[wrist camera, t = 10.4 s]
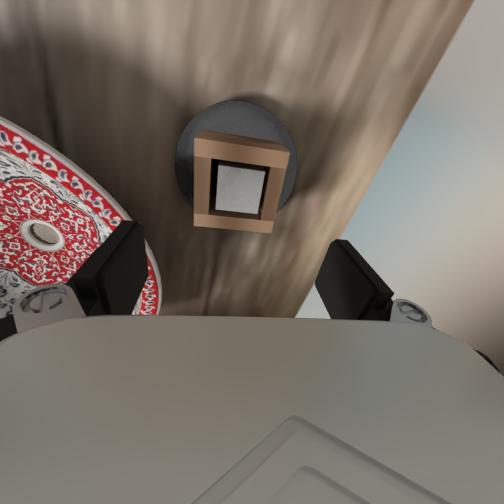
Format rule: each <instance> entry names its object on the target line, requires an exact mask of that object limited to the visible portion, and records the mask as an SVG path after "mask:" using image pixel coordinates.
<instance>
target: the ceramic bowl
mask: <svg viewBox="0 0 504 504" xmlns="http://www.w3.org/2000/svg"><path fill="white" fill-rule="evenodd" d="M122 220H130V221H133V220H132V219H131V218H130V217H129V215H128V214H127V213H126V212H125V210H124V209H123V208H122V207H121V206H120V205H119V204H118V203H117V202H116V200H115V199H114V198H113V197H112V196H111V195H110V194H109V193H108V192H107V191H106V190H105V189H104V188H103V187H102V186H100V185H99V184H98V183H97V182H96V181H95V180H94V179H93V178H92V177H91V176H89V175H88V174H87V173H86V172H85V171H83V170H82V169H81V168H80V167H78V166H77V165H76V164H75V163H74V162H72V161H71V160H70V159H68V158H67V157H65V156H64V155H63V154H61V153H60V152H58V151H57V150H56V149H54V148H53V147H51V146H50V145H49V144H47V143H46V142H44V141H42V140H41V139H39V138H37V137H36V136H34V135H33V134H31V133H29V132H28V131H26V130H25V129H23V128H21V127H20V126H18V125H16V124H14V123H12V122H10V121H9V120H7V119H5V118H3V117H1V116H0V319H1V318H3V317H6V316H8V315H11V314H13V311H12V309H13V304H14V303H15V301H16V300H17V299H18V298H19V297H20V296H22V295H23V294H25V293H26V292H28V291H30V290H32V289H35V288H37V287H40V286H44V285H48V284H65V283H66V282H67V281H68V280H69V279H70V278H71V277H72V276H73V274H74V273H75V272H76V271H77V270H78V269H79V268H80V267H81V265H82V264H83V263H84V262H85V261H86V260H87V259H88V257H89V256H90V255H91V254H92V253H93V252H94V251H95V250H96V249H97V248H98V247H99V246H100V245H101V244H102V243H103V242H104V241H105V240H106V238H107V237H108V236H109V235H110V234H111V233H112V232H113V230H114V229H115V228H116V227H117V226H118V225H119V224H120V222H121V221H122ZM34 223H42V224H45V225H48V226H50V227H51V228H53V229H54V230H55V231H56V232H57V234H58V235H59V242H58V243H56V244H46V243H43V242H40V241H39V240H37V239H36V238H35V237H34V236H33V235H32V234H31V231H30V227H31V225H32V224H34ZM144 239H145V238H144ZM145 246H146V254H147V262H148V270H149V274H148V278H147V281H146V283H145V285H144V287H143V290H142V292H141V294H140V296H139V299H138V301H137V303H136V305H135V308H134V310H133V312H132V314H131V315H159V311H160V308H161V302H162V284H161V277H160V273H159V269H158V265H157V263H156V260H155V258H154V255H153V253H152V251H151V249H150V247H149V245H148V243H147V241H146V239H145Z"/></svg>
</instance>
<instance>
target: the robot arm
mask: <svg viewBox="0 0 504 504" xmlns="http://www.w3.org/2000/svg"><path fill="white" fill-rule="evenodd" d="M148 274H149V270H148V262H147V254H146V246H145V239H144V231H143V226H142V225H140V224H139V223H138V222H137V221H130V220H122V221H121V222H120V224H119V225H118V226H117V227H116V228H115V229H114V230H113V232H112V233H111V234H110V235H109V236H108V237H107V238H106V240H105V241H104V242H103V243H102V244H101V245H100V246H99V247H98V248H97V249H96V250H95V251H94V252H93V253H92V254H91V255H90V256H89V257H88V259H87V260H86V261H85V262H84V263H83V264H82V265H81V267H80V268H79V269H78V270H77V271H76V272H75V273H74V274H73V276H72V277H71V278H70V279H69V280H68V281H67V282H66V283H65V284H48V285H44V286H40V287H37V288H35V289H32V290H30V291H28V292H26V293H25V294H23V295H22V296H20V297H19V298H18V299H17V300H16V301H15V303H14V304H13V309H12V311H13V314H11V315H8V316H6V317H3V318H1V319H0V504H504V377H503V376H502V375H501V374H500V371H499V370H498V368H497V367H496V366H495V365H494V364H493V362H492V361H491V360H490V359H489V358H488V357H487V356H486V355H484V354H483V353H481V352H479V351H477V350H474V349H473V348H471V347H470V346H469V345H467V344H466V343H465V342H463V341H462V340H460V339H458V338H456V337H453V336H452V335H449V334H447V333H445V332H442V331H439V330H437V329H435V328H433V327H432V320H431V317H430V316H429V314H428V313H427V312H426V311H425V310H424V309H423V308H421V307H420V306H418V305H416V304H415V303H413V302H411V301H408V300H405V299H396V300H394V302H393V301H392V299H391V297H392V296H393V294H394V292H393V291H392V290H391V289H390V288H389V287H388V286H387V284H386V283H385V282H384V281H383V280H382V279H381V278H380V277H379V275H378V274H377V273H376V272H375V271H374V270H373V269H372V267H371V266H370V265H369V264H368V263H367V262H366V261H365V259H364V258H363V257H362V256H361V255H360V254H359V253H358V251H357V250H356V249H355V248H354V247H353V246H352V245H351V244H350V242H349V241H347V240H340V239H336V240H334V242H331V244H330V246H329V248H328V251H327V253H326V256H325V258H324V260H323V263H322V265H321V268H320V270H319V273H318V275H317V278H316V280H315V286H316V288H317V291H318V293H319V294H320V297H321V298H322V301H323V303H324V305H325V307H326V309H327V311H328V313H329V315H330V317H331V319H311V318H274V317H234V316H188V315H131V314H132V312H133V310H134V308H135V305H136V303H137V301H138V299H139V296H140V294H141V292H142V290H143V287H144V285H145V283H146V281H147V278H148Z"/></svg>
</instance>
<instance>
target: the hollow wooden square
mask: <svg viewBox="0 0 504 504" xmlns="http://www.w3.org/2000/svg"><path fill="white" fill-rule="evenodd" d="M289 156H290V152H289V151H288V150H287V149H286V148H285V147H284V146H282V145H281V144H280V143H279V142H278V141H272V140H265V139H259V138H253V137H247V136H241V135H234V134H228V133H222V132H216V131H210V130H204V129H201V131H200V132H199V133H198V134H197V135H196V136H195V138H194V226H200V227H211V228H221V229H232V230H242V231H253V232H263V233H272V228H273V224H274V220H275V216H276V211H277V207H278V203H279V198H280V194H281V190H282V186H283V181H284V177H285V173H286V168H287V164H288V160H289ZM214 159H220V160H227V161H234V162H241V163H248V164H255V165H262V166H263V168H264V170H265V175H264V181H263V186H262V192H261V197H260V203H259V208H258V213H257V214H253V213H244V212H235V211H226V210H217V209H216V196H217V194H212V186H213V167H214Z"/></svg>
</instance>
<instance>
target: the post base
mask: <svg viewBox="0 0 504 504" xmlns="http://www.w3.org/2000/svg"><path fill="white" fill-rule="evenodd" d="M201 129H204V130H210V131H216V132H222V133H228V134H234V135H241V136H247V137H253V138H259V139H265V140H272V141H278V142H279V143H280V144H281V145H282V146H284V147H285V148H286V149H287V150H288V151H289V152H290V156H289V160H288V164H287V168H286V173H285V177H284V181H283V186H282V190H281V194H280V198H279V203H278V207H277V211H278V210H279V209H280V208H281V207H282V206H283V204H284V203H285V202H286V200H287V199H288V197H289V196H290V193H291V191H292V189H293V186H294V183H295V179H296V174H297V156H296V151H295V147H294V144H293V141H292V139H291V137H290V135H289V133H288V131H287V130H286V128H285V127H284V125H283V124H282V123H281V122H280V121H279V119H277V118H276V117H275V116H274V115H273V114H272V113H270V112H269V111H267V110H266V109H264V108H262V107H260V106H258V105H255V104H252V103H248V102H244V101H226V102H221V103H217V104H215V105H212V106H210V107H208V108H206V109H205V110H203V111H201V112H200V113H199V114H198V115H196V116H195V117H194V118H193V119H192V120H191V121H190V122H189V124H188V125H187V126H186V128H185V129H184V131H183V133H182V135H181V137H180V139H179V142H178V145H177V149H176V155H175V171H176V177H177V181H178V184H179V187H180V189H181V191H182V193H183V195H184V197H185V198H186V200H187V201H188V203H189V204H190V205H191V206H192V207H193V209H194V138H195V136H196V135H197V134H198V133H199V132H200V131H201ZM264 175H265V170H264V168H263V166H262V165H255V164H248V163H241V162H234V161H227V160H220V159H214V167H213V186H212V194H217V196H216V209H217V210H226V211H235V212H244V213H253V214H257V213H258V208H259V203H260V197H261V192H262V186H263V181H264ZM277 211H276V212H277Z"/></svg>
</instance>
